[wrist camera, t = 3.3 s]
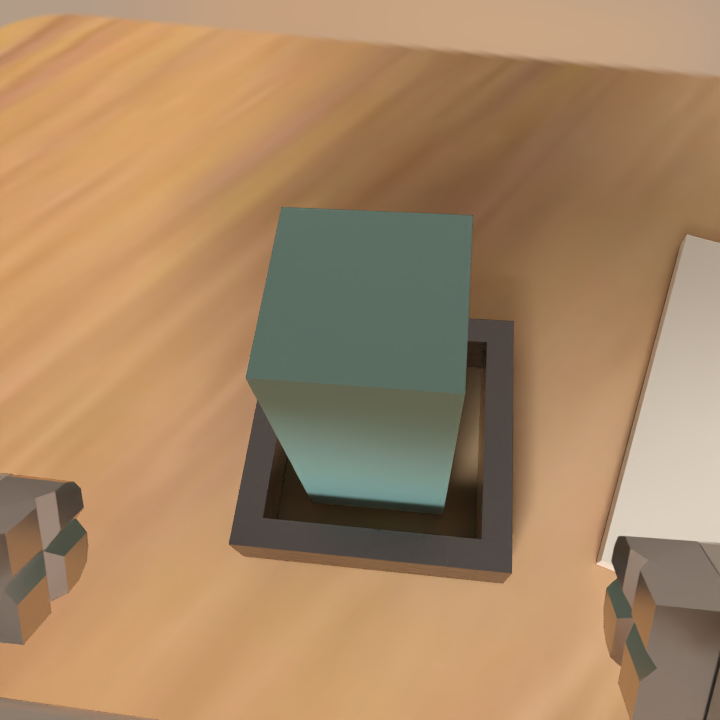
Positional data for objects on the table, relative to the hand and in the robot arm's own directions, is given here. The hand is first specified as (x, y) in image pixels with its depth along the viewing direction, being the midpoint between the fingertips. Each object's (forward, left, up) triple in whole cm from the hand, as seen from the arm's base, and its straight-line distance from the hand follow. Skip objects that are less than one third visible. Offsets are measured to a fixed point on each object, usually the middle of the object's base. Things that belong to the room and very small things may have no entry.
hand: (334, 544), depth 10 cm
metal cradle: (-2, +5, -10) cm, 11 cm away
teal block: (-2, +5, -10) cm, 11 cm away
